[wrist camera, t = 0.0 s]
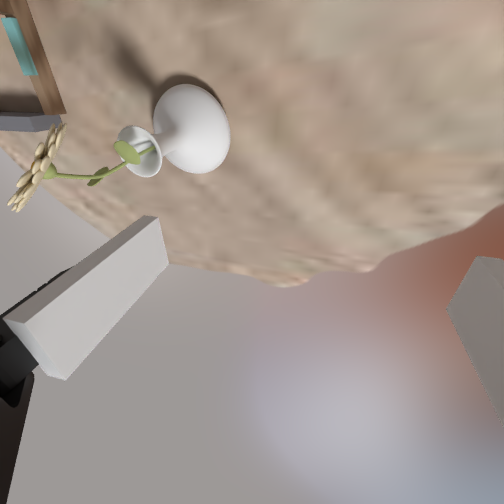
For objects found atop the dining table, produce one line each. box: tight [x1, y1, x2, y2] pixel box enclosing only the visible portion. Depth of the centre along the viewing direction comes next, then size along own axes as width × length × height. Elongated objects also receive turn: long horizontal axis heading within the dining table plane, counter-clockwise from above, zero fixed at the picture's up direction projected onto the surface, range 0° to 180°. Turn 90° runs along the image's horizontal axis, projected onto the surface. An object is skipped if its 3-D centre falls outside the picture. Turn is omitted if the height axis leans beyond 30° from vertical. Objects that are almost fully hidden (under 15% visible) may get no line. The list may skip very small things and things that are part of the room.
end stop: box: [0, 112, 63, 132], centre depth 41 cm, size 2×13×5 cm, turn 90°
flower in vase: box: [7, 84, 230, 212], centre depth 28 cm, size 13×11×25 cm
